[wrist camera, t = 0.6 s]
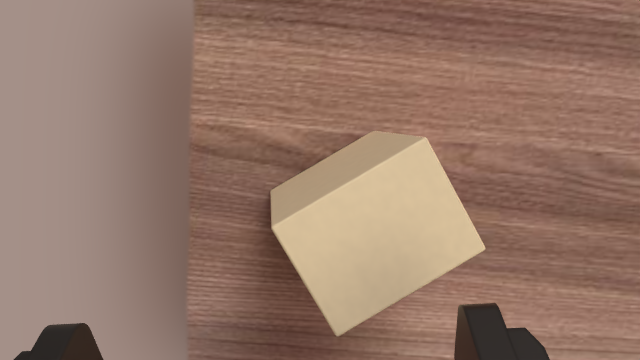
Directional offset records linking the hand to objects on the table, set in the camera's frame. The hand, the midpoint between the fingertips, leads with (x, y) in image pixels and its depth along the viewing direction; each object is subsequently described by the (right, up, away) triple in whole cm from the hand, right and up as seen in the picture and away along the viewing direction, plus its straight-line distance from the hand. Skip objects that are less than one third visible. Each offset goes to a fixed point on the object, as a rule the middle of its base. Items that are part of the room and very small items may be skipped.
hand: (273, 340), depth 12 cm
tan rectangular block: (+2, +3, +15) cm, 16 cm away
